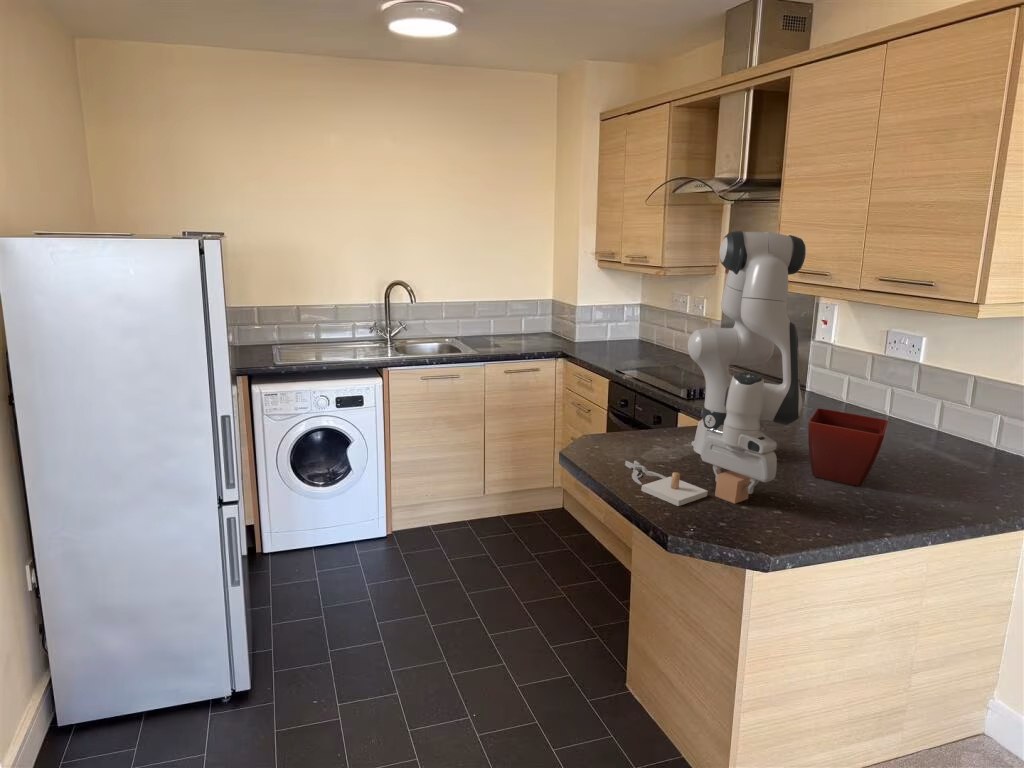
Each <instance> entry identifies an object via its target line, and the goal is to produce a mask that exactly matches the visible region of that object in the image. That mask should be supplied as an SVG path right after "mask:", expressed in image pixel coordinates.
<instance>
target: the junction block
mask: <svg viewBox="0 0 1024 768" xmlns="http://www.w3.org/2000/svg"><path fill="white" fill-rule="evenodd" d="M680 477H681V473H680V472H677V471H676V472H675V471H674V472H672V473H671V476H668V477H667V478H664V479H662V478H660V479H658V480H655V481H651V482H648V483H645V484H642V485H641V489H640V491H641V492H643V493H646V494H648V495H651V496H653V497H655V498H658V499H660V500H662V501H666V502H667V503H670V504H671V505H674V506H677V507H679V506H683V505H685V504H688V503H691V502H692V503H693V502H694V501H697V500H700V499H703V498H707V496H708V490H707V489H704V488H702V487H699V486H697V485H694V484H691V483H689V482H686V481H684V480H681V478H680Z"/></svg>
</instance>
